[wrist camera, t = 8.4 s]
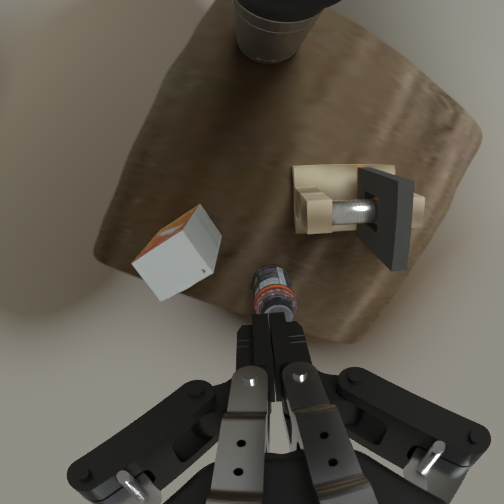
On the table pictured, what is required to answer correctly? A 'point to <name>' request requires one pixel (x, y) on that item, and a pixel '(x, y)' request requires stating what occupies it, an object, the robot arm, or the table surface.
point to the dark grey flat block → (387, 216)
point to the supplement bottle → (274, 292)
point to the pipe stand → (337, 199)
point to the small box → (180, 254)
